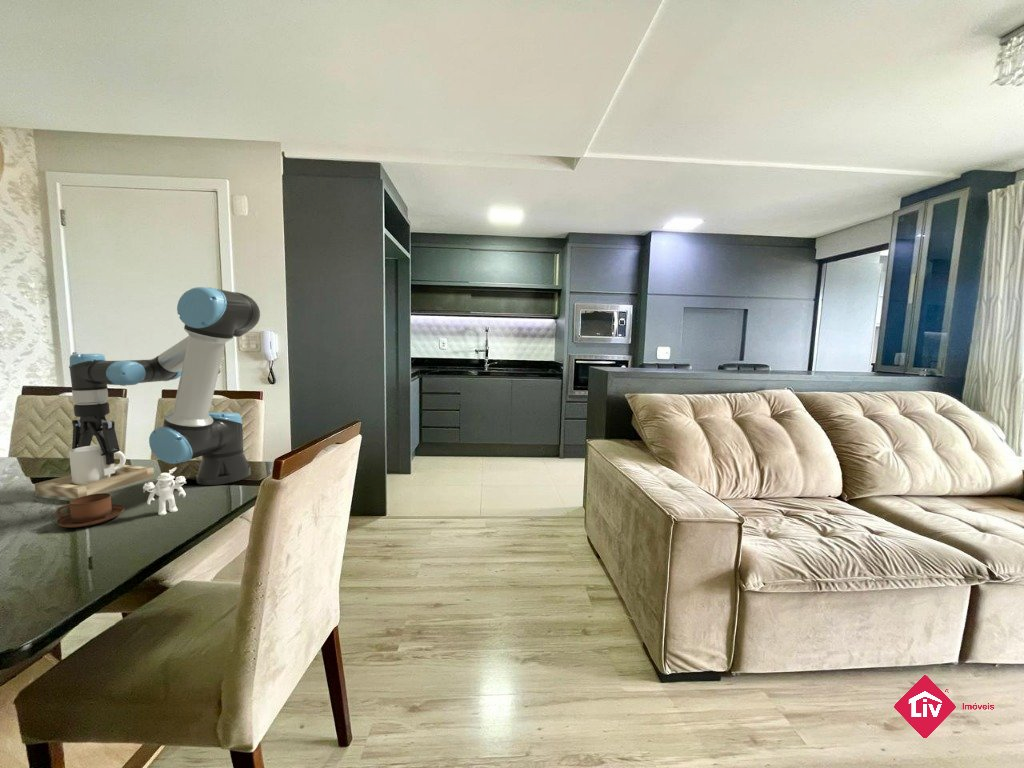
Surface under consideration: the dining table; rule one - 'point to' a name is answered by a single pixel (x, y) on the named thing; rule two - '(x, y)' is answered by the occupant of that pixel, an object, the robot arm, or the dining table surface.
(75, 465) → the mug
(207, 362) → the robot arm
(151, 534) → the dining table surface
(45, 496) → the board
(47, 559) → the dining table surface
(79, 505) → the cup and saucer
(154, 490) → the white toy figurine
